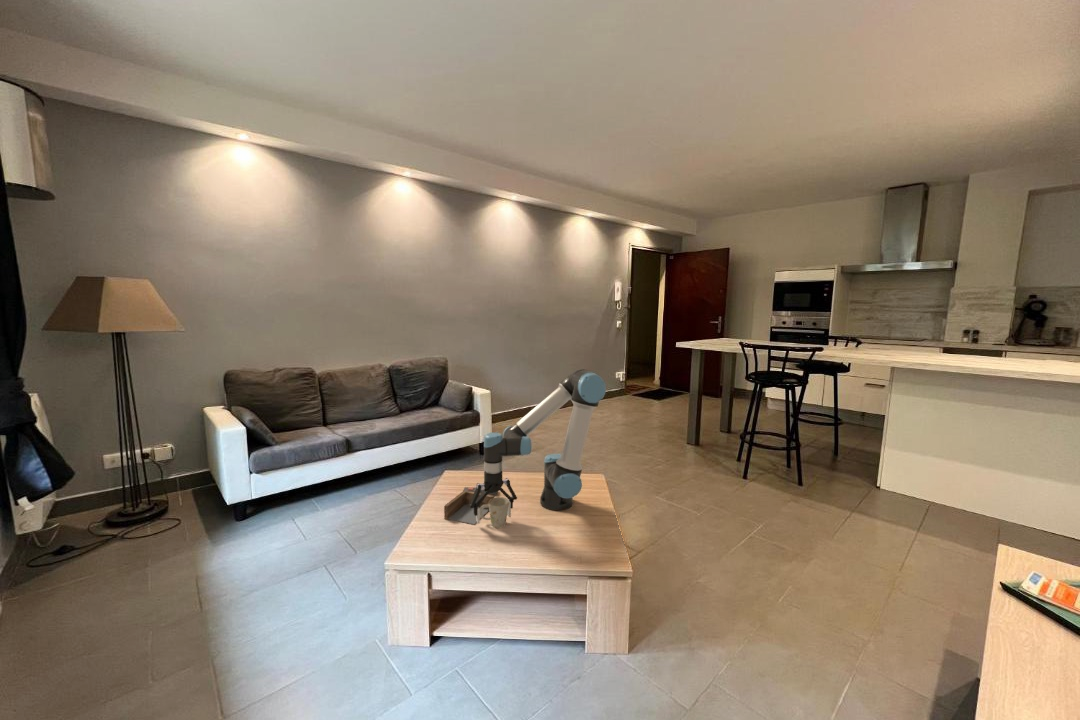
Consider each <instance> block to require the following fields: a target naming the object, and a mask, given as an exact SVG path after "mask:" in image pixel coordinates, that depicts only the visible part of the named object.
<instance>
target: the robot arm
mask: <svg viewBox="0 0 1080 720" xmlns="http://www.w3.org/2000/svg"><path fill="white" fill-rule="evenodd" d="M606 392H607V386H606V383H605V380H604V379H603V378H602V377H601V376H600V375H599V374H597V373H595V372H592V371H590V370H588V369H584V368H580V369H576V370H575V371H573V372H571V373H570V374H569V375H568V376H566V377H565V378H564V379H563V380H562V381H560V382H559V383H558V387H557V388H556V389H554V390H553V391H552V392H551V393H550V394H549V395H548V396H546V397H545V398H544V399H543V400H542V401H540V402H539V403H538V404H537V405H536V406H535V407H533V408H532V409H531V410H530V411H529V412H527V413H526V414H525V415H524V416H523V417H522V418H521V419H519V420H518V421H517V422H515V424H513V425H509V426H507V427H506V428H505V429H504V430H503V433H500V432H489V433H486V434H485V435H484V438H483V460H484V461H483V466H484V467H483V470H484V471H483V472H484V473H483V474H484V475H483V479H484V481H483V483H480V482H477V483H476V486H475V487H476V490H475V492H474V494H473V497H472V499H471V501H470V503H469V506H470V507H471V508H474V515H475V516H476V522H477V523H476V524H477V525H479V524H480V522H481V519H480V508H479V505H480V504H481V503H482V501H483V500H484V498H485V497H486V496H487V495H488V494H489V493H494V492H497V493H498V492H500V493H501V494H502V495H504V496H505V497H506V499H507V500H508V501H509V503H508V511H507V517H508V518H511V516H512V515H511V514H512V513H511V512H512V511H511V510H512V509H513V508H514V507H513V505H514V502H515V500H517V499H518V496H517V495H516V493H515V491H514V489H513V488H512V485H511V482H510V481H511V480H510V479H509V478H508V477H506V478H505V479H503V457H516V456H517V457H519V456H527V455H530V454H531V453H532V440H531V438H530V436H529V435H530V434H531V433H532V432H534V431H535V430H536V429H537V428H538V427H539V426H540V425H541V424H543V423H544V422H545V421H546V420H547V419H549V418H550V417H551V416H552V415H553V414H554V413H556V412H557V411H558V410H559V409H561V408H562V407H563V406H564V405H566V403H568V402H569V401H571V402H572V404H573V407H572V409H571V410H572V411H571V413H570V418H569V421H568V422H569V423H568V426H567V431H566V435H565V439H564V442H563V446H562V449H561V450H562V451H561V453H550V454H547V455H546V456H545V457H544V462H543V464H544V465H543V467H544V470H543V473H544V475H543V477H544V478H543V480H544V481H543V485H544V486H543V489H542V491H541V495H540V499H539V500H540V502H539V503H540V504H539V505H540V506H541V507H543V508H545V509H546V510H549V511H550V510H551V511H564V510H565V511H566V510H568V509H570V508H571V507H572V506H573V503H574V500H573V498H574V497H576V496H577V495H578V494H579V493H580V492H581V490H582V487H583V482H582V481H583V480H582V479H581V476H582V475H581V474H582V471H583V466H582V464H581V461H582V456H583V451H584V448H585V444H586V441H587V436H588V432H589V427H590V425H591V420H592V416H593V412H594V410H595V409H597V408H598V407H599V403H600V401H601V400H602V399H604V397H605V395H606ZM503 485H505V486H506V488H507V489H508V491H509V492H510V495H509V494H508V493H507V492H506V491H505V490H504V488H503ZM483 487H484V490H483V492H482V494H481V495H480V496H479V494H480V491H481V489H482V488H483ZM478 496H479V498H478ZM477 498H478V499H477Z"/></svg>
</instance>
